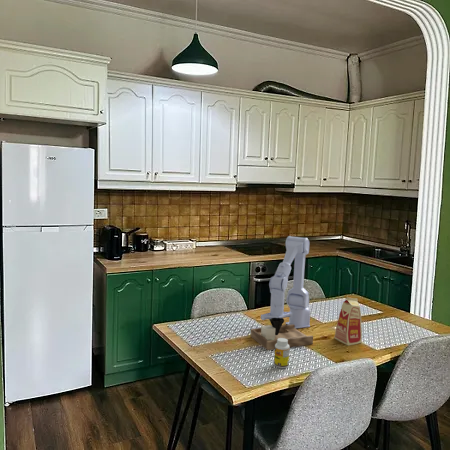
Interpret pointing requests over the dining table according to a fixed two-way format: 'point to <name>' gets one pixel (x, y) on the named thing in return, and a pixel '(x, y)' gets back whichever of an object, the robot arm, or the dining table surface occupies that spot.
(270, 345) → the tray
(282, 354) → the supplement bottle
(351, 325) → the milk carton
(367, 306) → the dining table surface
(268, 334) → the block
